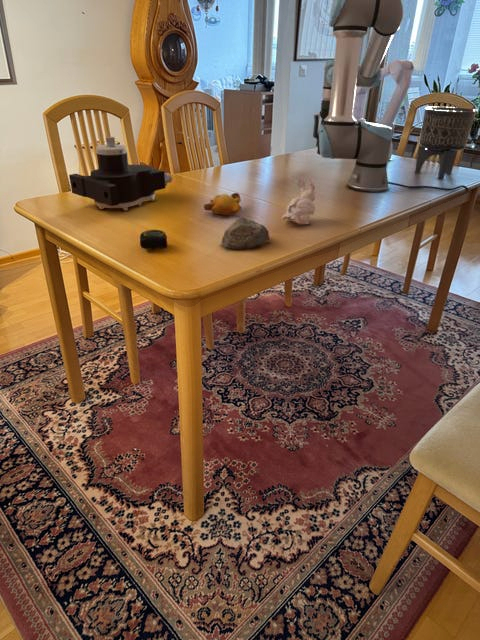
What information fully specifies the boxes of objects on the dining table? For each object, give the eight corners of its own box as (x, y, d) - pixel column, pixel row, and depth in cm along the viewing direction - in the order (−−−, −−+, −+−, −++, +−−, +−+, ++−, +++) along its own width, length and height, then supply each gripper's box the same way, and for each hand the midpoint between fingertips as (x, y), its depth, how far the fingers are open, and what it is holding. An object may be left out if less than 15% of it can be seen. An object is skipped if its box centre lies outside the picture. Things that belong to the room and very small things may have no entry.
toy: (200, 206, 138) (209, 192, 151) (208, 225, 141) (216, 210, 154) (234, 195, 135) (241, 182, 148) (241, 215, 138) (247, 200, 151)
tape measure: (140, 252, 115) (139, 238, 113) (141, 242, 120) (140, 229, 119) (167, 251, 116) (166, 237, 114) (167, 241, 121) (166, 228, 120)
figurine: (321, 218, 142) (325, 177, 135) (298, 231, 131) (302, 187, 125) (298, 213, 146) (301, 173, 139) (274, 225, 135) (277, 182, 128)
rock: (255, 233, 128) (256, 211, 124) (276, 242, 122) (278, 219, 119) (217, 244, 120) (217, 220, 117) (239, 254, 115) (239, 230, 111)
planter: (406, 175, 197) (419, 108, 184) (419, 168, 211) (432, 105, 198) (453, 182, 187) (471, 112, 174) (463, 174, 201) (480, 109, 188)
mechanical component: (62, 136, 139) (140, 127, 159) (73, 204, 150) (145, 188, 170) (104, 145, 127) (182, 134, 147) (113, 218, 138) (185, 199, 158)
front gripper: (345, 99, 209) (338, 152, 220) (308, 98, 205) (303, 152, 217) (352, 100, 202) (345, 155, 214) (314, 100, 199) (309, 155, 210)
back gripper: (341, 107, 234) (338, 135, 241) (359, 110, 223) (355, 139, 230) (352, 106, 237) (349, 134, 244) (370, 109, 226) (366, 138, 232)
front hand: (324, 153), depth 215 cm, fingers closed on canister, 5 cm apart
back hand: (352, 136), depth 237 cm, fingers open, 7 cm apart
